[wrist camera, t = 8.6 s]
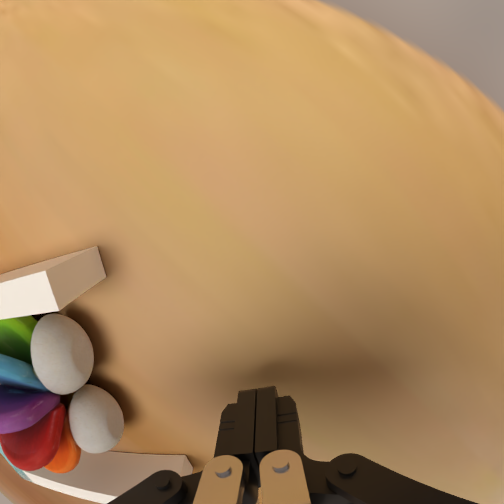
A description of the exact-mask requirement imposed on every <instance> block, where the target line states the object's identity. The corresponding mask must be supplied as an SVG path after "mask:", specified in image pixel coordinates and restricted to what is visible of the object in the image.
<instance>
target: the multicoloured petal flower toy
mask: <svg viewBox="0 0 504 504" xmlns="http://www.w3.org/2000/svg"><path fill="white" fill-rule="evenodd" d="M93 364H94V354H93V347H92V344H91V341H90V339H89V337H88V335H87V334H86V332H85V331H84V330H83V328H82V327H81V326H80V325H79V324H78V323H77V322H75V321H74V320H72V319H71V318H69V317H67V316H64V315H60V314H56V313H52V314H48V315H45V316H44V317H42V318H41V319H40V320H39V321H37V320H36V319H35V318H33V317H32V316H31V315H28V316H22V317H15V318H8V319H1V320H0V444H1V447H2V450H3V452H4V454H5V456H6V457H7V459H8V460H9V461H10V462H11V463H12V464H13V465H14V466H15V467H17V468H19V469H21V470H24V471H35V470H38V469H40V468H42V467H44V468H46V469H48V470H49V471H52V472H54V473H67V472H69V471H71V470H73V469H74V468H75V467H76V466H77V465H78V463H79V460H80V456H81V449H82V450H84V451H86V452H88V453H102V452H106V451H108V450H110V449H111V448H113V447H114V446H115V445H116V444H117V443H118V442H119V441H120V439H121V437H122V434H123V430H124V418H123V413H122V411H121V408H120V406H119V405H118V403H117V402H116V400H115V399H114V398H113V397H112V396H111V395H110V394H109V393H108V392H106V391H105V390H103V389H101V388H99V387H97V386H94V385H90V384H89V385H84V384H85V383H86V382H87V380H88V379H89V377H90V375H91V372H92V369H93ZM83 385H84V386H83ZM75 391H76V392H75ZM73 392H75V393H73Z"/></svg>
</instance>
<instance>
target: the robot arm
mask: <svg viewBox="0 0 504 504" xmlns="http://www.w3.org/2000/svg"><path fill="white" fill-rule="evenodd" d="M259 487H261V494H262V504H478V503H475V502H472V501H469V500H466V499H463V498H460V497H457V496H454V495H451V494H448V493H445V492H443V491H440V490H437V489H435V488H432V487H430V486H427V485H425V484H422V483H420V482H417V481H415V480H413V479H410V478H408V477H406V476H403V475H401V474H399V473H397V472H394V471H392V470H390V469H388V468H386V467H383V466H381V465H379V464H377V463H375V462H373V461H371V460H369V459H367V458H365V457H363V456H361V455H358V454H352V453H350V454H343V455H340V456H337V457H336V458H334V459H333V460H331V461H330V462H320V461H315V460H312V459H309V458H308V457H306V456H305V455H304V454H303V445H302V437H301V429H300V423H299V418H298V413H297V408H296V403H295V402H294V400H293V399H292V398H291V397H290V396H284V397H278V394H277V390H276V387H275V386H271V387H265V388H258V389H252V390H244V391H239V393H238V400H237V403H234V404H228V405H227V406H226V408H225V409H224V410H223V412H222V415H221V420H220V426H219V431H218V437H217V443H216V448H215V454H214V458H213V459H211V460H210V461H209V462H208V463H207V464H206V465H205V466H204V469H203V471H200V472H198V473H195V474H191V475H187V476H182V477H180V475H179V474H178V473H176V472H175V471H172V470H161V471H157V472H155V473H153V474H152V475H150V476H149V477H147V478H146V479H145V480H143V481H142V482H140V483H139V484H137V485H136V486H134V487H132V488H131V489H129V490H128V491H126V492H125V493H123V494H122V495H120V496H118V497H117V498H115V499H114V500H112V501H110V502H109V503H107V504H259V499H258V488H259Z"/></svg>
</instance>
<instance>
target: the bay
mask: <svg viewBox="0 0 504 504" xmlns="http://www.w3.org/2000/svg"><path fill="white" fill-rule="evenodd" d="M105 278H106V274H105V271H104V268H103V264H102V261H101V258H100V254H99V251H98V247H97V246H95V247H92V248H88V249H84V250H81V251H77V252H74V253H70V254H67V255H63V256H60V257H56V258H53V259H49V260H46V261H43V262H39V263H36V264H32V265H29V266H26V267H23V268H19V269H16V270H13V271H10V272H7V273H3V274H0V320H1V319H8V318H15V317H22V316H28V315H35V314H42V313H48V312H54V311H60V310H61V309H62V308H64V307H65V306H66V305H68V304H69V303H71V302H72V301H73V300H75V299H76V298H78V297H79V296H80V295H82V294H83V293H85V292H86V291H87V290H89V289H90V288H92V287H93V286H95V285H96V284H97V283H99V282H100V281H102V280H103V279H105ZM0 453H1V454H2V455H3V456H4V458H5V459H6V460H7V461H8V462H9V464H10V465H11V466H12V467H13V468H14V469H15V471H16V472H17V473H18V474H19V475H20V476H21V477H22V478H23V479H25V480H28V481H30V482H33V483H35V484H38V485H41V486H44V487H47V488H49V489H52V490H55V491H58V492H62V493H65V494H68V495H72V496H75V497H79V498H82V499H86V500H90V501H94V502H98V503H103V504H107V503H109V502H110V501H112V500H114V499H115V498H117V497H118V496H120V495H122V494H123V493H125V492H126V491H128V490H129V489H131V488H132V487H134V486H136V485H137V484H139V483H140V482H142V481H143V480H145V479H146V478H147V477H149V476H150V475H152V474H153V473H155V472H157V471H161V470H172V471H175V472H176V473H178V474H179V475H180V477H182V476H187V475H191V474H192V471H193V467H192V465H191V464H190V462H189V460H188V459H187V457H186V455H156V454H137V453H124V452H113V451H106V452H102V453H88V452H86V451H84V450H82V449H81V456H80V460H79V463H78V465H77V466H76V467H75V468H74V469H73V470H71V471H69V472H67V473H54V472H52V471H49V470H48V469H46V468H44V467H42V468H40V469H38V470H35V471H24V470H21V469H19V468H17V467H15V466H14V465H13V464H12V463H11V462H10V461H9V460H8V459H7V457H6V456H5V454H4V452H3V450H2V447H1V444H0Z"/></svg>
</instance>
